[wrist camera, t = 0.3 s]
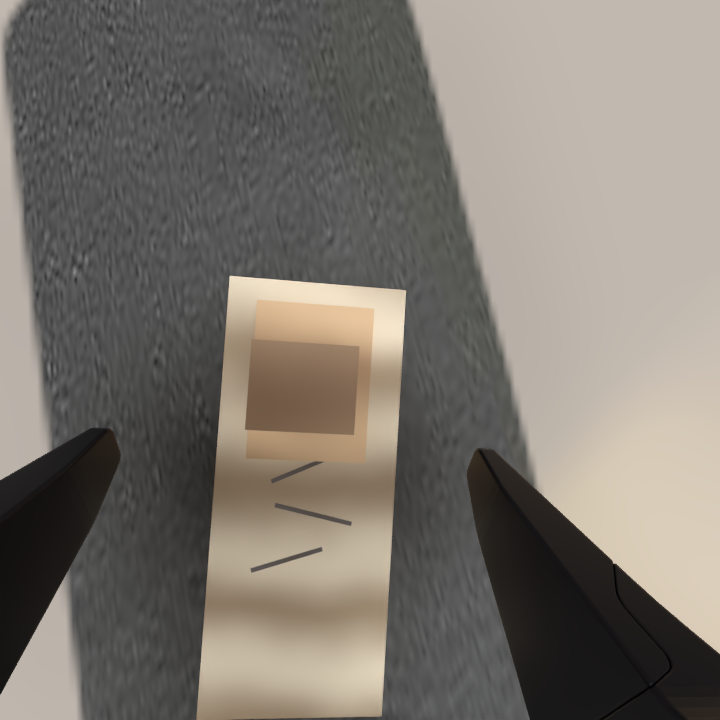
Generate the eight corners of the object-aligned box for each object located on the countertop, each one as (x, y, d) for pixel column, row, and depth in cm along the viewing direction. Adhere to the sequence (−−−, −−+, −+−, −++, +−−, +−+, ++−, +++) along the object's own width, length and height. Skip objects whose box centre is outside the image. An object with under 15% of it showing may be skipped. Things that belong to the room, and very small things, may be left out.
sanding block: (361, 454, 21) (384, 511, 12) (253, 449, 20) (201, 505, 12) (369, 314, 21) (398, 276, 13) (264, 306, 21) (220, 261, 12)
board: (374, 672, 24) (381, 716, 20) (213, 674, 23) (196, 720, 20) (396, 300, 24) (406, 290, 21) (242, 288, 24) (229, 275, 20)
